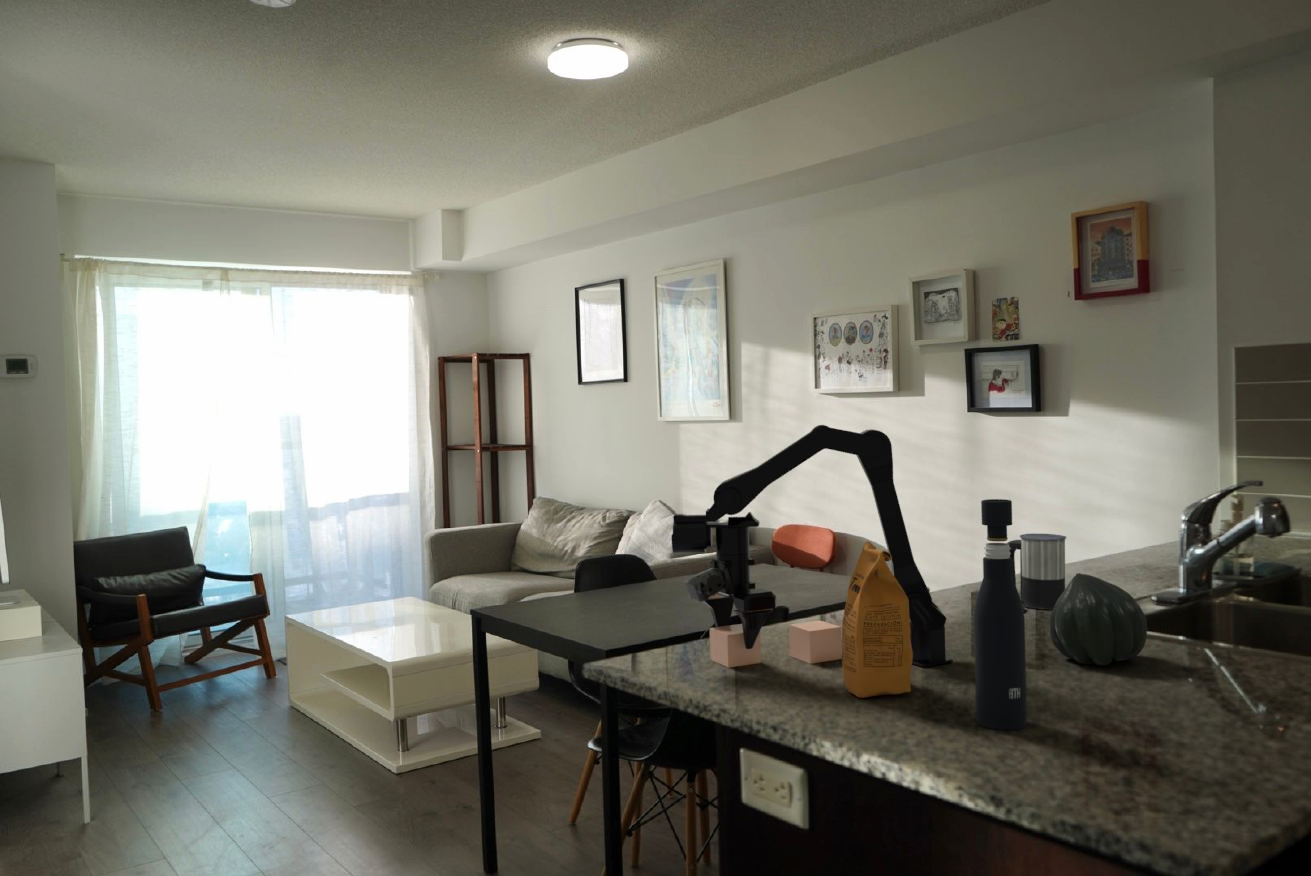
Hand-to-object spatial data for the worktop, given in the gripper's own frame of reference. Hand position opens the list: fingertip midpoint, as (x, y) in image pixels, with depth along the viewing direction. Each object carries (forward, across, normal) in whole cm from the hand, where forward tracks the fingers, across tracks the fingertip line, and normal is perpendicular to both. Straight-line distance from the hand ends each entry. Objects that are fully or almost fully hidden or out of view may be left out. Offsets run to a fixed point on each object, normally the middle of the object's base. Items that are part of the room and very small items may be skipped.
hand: (735, 643), depth 173 cm
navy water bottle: (+3, +48, +14) cm, 50 cm away
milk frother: (+3, -7, +74) cm, 74 cm away
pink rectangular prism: (+3, +5, +13) cm, 14 cm away
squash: (+3, +31, +51) cm, 60 cm away
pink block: (+3, 0, 0) cm, 3 cm away
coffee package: (+3, +26, +10) cm, 28 cm away
